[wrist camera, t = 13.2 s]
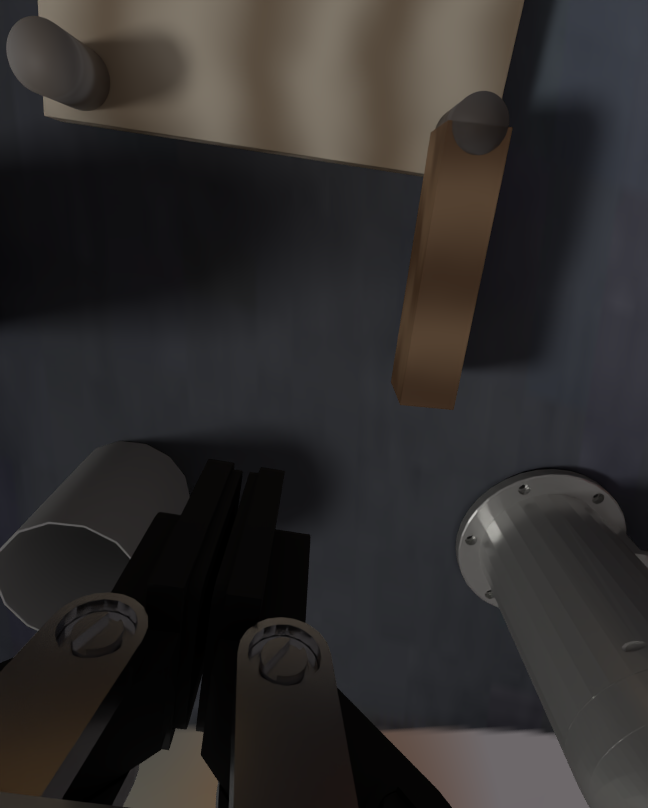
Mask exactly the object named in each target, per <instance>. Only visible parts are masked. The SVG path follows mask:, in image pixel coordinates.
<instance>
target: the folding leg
mask: <svg viewBox="0 0 648 808" xmlns="http://www.w3.org/2000/svg"><path fill="white" fill-rule="evenodd" d="M512 129H513V127H509V112H508V109H507V106H506V104H505V102H504V101H503V100H502V99H501V97H499V96H498V95H497V94H495V93H493V92H490V91H478V92H475V93H472V94H470V95H469V96H467V97H466V98H465V99H463V100H462V101H461V102H459V103H458V104H457V105H456V106H454V107H453V108H452V109H450V110H449V111H448V112H447V113H445V114H444V115H443V116H442V117H441V119H440V120H439V122H438V123H437V125H436V128H435V130H433V131H432V132H431V133H430V140H429V146H428V152H427V159H426V165H425V171H424V177H423V184H422V190H421V196H420V203H419V209H418V215H417V222H416V228H415V234H414V240H413V247H412V253H411V259H410V266H409V272H408V278H407V285H406V291H405V297H404V303H403V310H402V316H401V322H400V329H399V335H398V341H397V348H396V354H395V360H394V366H393V373H392V379H391V383H392V385H393V388H394V390H395V393H396V395H397V398H398V400H399V403H400V405H407V406H418V407H428V408H439V409H449V410H454V405H455V400H456V395H457V391H458V386H459V381H460V376H461V371H462V367H463V362H464V357H465V352H466V348H467V343H468V338H469V333H470V329H471V324H472V319H473V314H474V310H475V305H476V300H477V295H478V291H479V286H480V281H481V276H482V272H483V267H484V262H485V257H486V253H487V248H488V243H489V238H490V234H491V229H492V224H493V219H494V214H495V210H496V205H497V200H498V195H499V191H500V186H501V181H502V176H503V172H504V167H505V162H506V157H507V153H508V148H509V143H510V138H511V134H512Z"/></svg>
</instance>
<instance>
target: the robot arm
mask: <svg viewBox="0 0 648 808" xmlns="http://www.w3.org/2000/svg"><path fill="white" fill-rule="evenodd" d="M284 473H285V471H282V470H275V469H269V468H263V467H261V468H260V471H259V473H253V472H250V473H249V476H248V479H247V483H246V486H245V489H244V492H243V496H242V499H241V502H240V505H239V497H240V489H241V482H242V471H240V470H234V463H231V462H225V461H219V460H212V459H209V460H208V461H207V464H206V466H205V468H204V470H203V472H202V474H201V476H200V478H199V480H198V482H197V484H196V486H195V488H194V490H193V492H192V494H191V496H190V498H189V500H188V502H187V504H186V506H185V508H184V510H183V512H182V514H181V515H178V514H171V513H165V512H159V513H157V515H156V516H155V517H154V519H153V521H152V522H151V524H150V526H149V528H148V529H147V531H146V533H145V534H144V536H143V538H142V540H141V541H140V543H139V545H138V546H137V548H136V550H135V552H134V553H133V555H132V557H131V559H130V560H129V562H128V564H127V565H126V567H125V569H124V571H123V572H122V574H121V576H120V577H119V579H118V581H117V583H116V584H115V586H114V588H113V589H112V591H111V593H110V592H108V593H95V594H91V595H87V596H84V597H80V598H78V599H76V600H74V601H72V602H70V603H68V604H66V605H64V606H63V607H62V608H61V609H59V610H58V611H57V612H56V613H55V614H53V616H52V617H51V618H50V619H49V620H48V621H47V622H46V623H45V624H44V625H43V626H42V627H41V628H40V630H39V631H38V632H37V633H36V634H35V635H34V636H33V637H32V638H31V639H30V640H29V641H28V643H27V644H26V645H25V646H24V647H23V648H22V649H21V650H20V651H19V652H18V653H17V654H16V655H15V657H14V658H11V659H9V660H6V661H4V662H2V663H0V808H128V807H123V805H124V802H125V801H126V798H127V797H128V795H129V792H130V791H131V788H132V786H133V784H134V782H135V779H136V776H137V773H138V770H139V764H140V763H142V762H143V761H145V760H146V759H148V758H149V757H151V756H152V755H154V754H155V753H157V752H158V751H160V750H161V749H165V750H169V748H170V745H171V742H172V738H173V735H174V732H175V728H178V729H187V727H188V724H189V720H190V717H191V713H192V709H193V706H194V702H195V699H196V695H197V691H198V688H199V684H200V681H201V677H202V683H201V691H200V700H199V708H198V717H197V725H196V731H201V732H204V734H203V742H202V749H201V756H202V757H203V759H204V760H205V762H206V763H207V765H208V766H209V768H210V769H211V771H212V772H213V774H214V775H215V777H216V778H217V780H218V787H217V794H216V808H452V807H451V806H450V804H449V803H448V802H447V801H446V799H445V798H444V797H443V796H442V794H441V793H440V792H439V791H438V790H437V789H436V788H435V786H434V785H432V784H431V782H430V781H428V779H427V778H426V777H425V776H424V775H423V774H422V773H421V772H420V771H419V770H418V769H417V768H416V767H415V766H414V765H413V764H412V763H411V762H410V761H409V760H408V759H407V758H406V757H405V756H404V755H403V754H402V753H401V752H400V751H399V750H398V749H397V748H396V747H395V746H394V745H393V744H392V743H391V742H390V741H389V740H388V739H387V738H386V737H385V736H384V735H383V734H382V733H381V732H380V731H379V730H378V729H377V728H376V727H375V726H374V725H373V724H372V723H371V722H370V721H369V719H368V718H367V717H366V716H365V715H364V714H363V713H362V712H361V711H360V710H359V709H358V708H357V707H356V706H355V705H354V704H353V703H352V702H351V701H350V700H349V699H348V698H347V697H346V696H345V695H344V694H343V693H342V692H341V691H340V690H339V689H338V688H337V685H336V680H335V674H334V668H333V663H332V657H331V653H330V650H329V647H328V645H327V642H326V641H325V639H324V638H323V637H322V636H321V634H320V633H319V632H318V631H317V630H315V629H314V628H312V627H311V626H310V625H308V624H306V623H305V620H306V603H307V586H308V569H309V552H310V535H309V534H302V533H296V532H289V531H283V530H276V529H275V528H276V522H277V516H278V509H279V503H280V497H281V491H282V485H283V479H284ZM238 505H239V508H238ZM626 529H627V527H626V523H625V518H624V514H623V512H622V510H621V508H620V507H619V505H618V503H617V502H616V500H615V499H614V498H613V497H612V496H611V495H610V494H609V493H608V492H607V491H606V490H605V489H604V488H603V487H602V486H601V485H600V484H598V483H597V482H595V481H594V480H592V479H590V478H588V477H587V476H585V475H582V474H578V473H575V472H572V471H567V470H559V469H543V470H534V471H530V472H525V473H521V474H518V475H516V476H513V477H510V478H508V479H505V480H504V481H502V482H500V483H498V484H497V485H495V486H493V487H492V488H490V489H489V490H488V491H487V492H485V493H484V494H483V495H482V496H480V497H479V498H478V499H477V501H476V502H475V503H474V504H473V505H472V506H471V508H470V509H469V510H468V512H467V513H466V515H465V517H464V519H463V520H462V522H461V525H460V528H459V531H458V534H457V539H456V556H457V562H458V564H459V567H460V570H461V573H462V575H463V577H464V579H465V581H466V583H467V585H468V586H469V587H470V588H471V589H472V590H473V592H474V593H475V594H476V595H478V596H479V597H480V598H481V599H483V600H484V601H486V602H488V603H490V604H492V605H494V606H496V607H498V608H500V611H501V613H502V615H503V617H504V620H505V622H506V624H507V626H508V629H509V631H510V633H511V635H512V638H513V640H514V642H515V644H516V647H517V649H518V651H519V653H520V656H521V658H522V660H523V662H524V665H525V667H526V669H527V671H528V674H529V676H530V678H531V680H532V683H533V685H534V687H535V689H536V692H537V694H538V696H539V698H540V701H541V703H542V705H543V707H544V710H545V712H546V714H547V716H548V719H549V721H550V723H551V725H552V728H553V730H554V732H555V734H556V737H557V739H558V741H559V743H560V746H561V748H562V750H563V752H564V755H565V757H566V759H567V761H568V764H569V766H570V768H571V771H572V773H573V775H574V777H575V779H576V782H577V784H578V786H579V788H580V790H581V792H582V794H583V796H584V798H585V800H586V802H587V804H588V805H589V807H590V808H648V550H640V549H639V548H638V547H637V546H636V545H635V544H634V542H633V541H632V540H631V539H630V538H629V537H628V536H627V535H626ZM202 673H203V674H202Z"/></svg>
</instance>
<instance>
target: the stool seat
mask: <svg viewBox="0 0 648 808" xmlns="http://www.w3.org/2000/svg"><path fill="white" fill-rule="evenodd" d="M523 4H524V0H38V11H39V16H29V17H25V18H23V19H21V20H19V21H18V22H17V23H16V24H15V25H14V26H13V27H12V29H11V31H10V33H9V35H8V39H7V57H8V61H9V64H10V67H11V69H12V71H13V73H14V74H15V76H16V77H17V79H18V80H19V81H20V82H21V83H22V84H23V85H24V86H25V87H26V88H28V89H29V90H31V91H33V92H35V93H37V94H40V95H42V96H43V102H44V116H47V117H50V118H53V119H56V120H59V121H61V122H67V123H74V124H80V125H87V126H93V127H100V128H106V129H113V130H119V131H126V132H133V133H139V134H146V135H152V136H159V137H165V138H172V139H179V140H185V141H192V142H198V143H205V144H211V145H218V146H225V147H231V148H238V149H244V150H251V151H257V152H264V153H270V154H277V155H284V156H290V157H297V158H303V159H310V160H316V161H323V162H330V163H336V164H343V165H349V166H356V167H362V168H369V169H375V170H382V171H389V172H395V173H402V174H408V175H415V176H421V177H424V171H425V165H426V159H427V152H428V146H429V140H430V133H431V132H432V131H433V130H435V128H436V125H437V123H438V122H439V120H440V119H441V117H442V116H443V115H444V114H445V113H447V112H448V111H449V110H450V109H452V108H453V107H454V106H456V105H457V104H458V103H459V102H461V101H462V100H463V99H465V98H466V97H467V96H469V95H470V94H472V93H475V92H478V91H490V92H493V93H495V94H497V95H498V96H499V97H501V99H502V95H503V91H504V87H505V82H506V78H507V74H508V69H509V65H510V61H511V56H512V52H513V48H514V43H515V39H516V35H517V30H518V26H519V22H520V17H521V13H522V8H523Z"/></svg>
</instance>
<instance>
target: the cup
mask: <svg viewBox="0 0 648 808" xmlns="http://www.w3.org/2000/svg"><path fill="white" fill-rule="evenodd" d="M189 498H190V496H189V491H188V487H187V482H186V478H185V475H184V474H183V473H182V472H181V470H180V469H179V468H178V467H177V465H176V464H175V463H174V462H173V460H172V459H171V458H170V457H169V456H167V455H165V454H164V453H162V452H160V451H158V450H156V449H154V448H153V447H151V446H149V445H147V444H142V443H134V442H125V441H118V442H114V443H111V444H108V445H105V446H102V447H98V448H96V449H95V450H94V451H93V452H92V453H91V454H90V455H89V456H88V457H87V458H86V459H85V460H84V461H83V462H82V463H81V464H80V465H79V466H78V467H77V468H76V469H75V471H74V472H73V473H72V474H71V475H70V476H69V477H68V478H67V479H66V480H65V481H64V482H63V483H62V484H61V485H60V486H59V487H58V488H57V489H56V490H55V492H54V493H53V494H52V495H51V496H50V497H49V498H48V499H47V500H46V501H45V502H44V503H43V504H42V505H41V506H40V507H39V508H38V509H37V510H36V511H35V513H34V514H33V515H32V516H31V517H30V518H29V519H28V520H27V521H26V522H25V523H24V524H23V525H22V526H21V527H20V528H19V529H18V530H17V531H16V533H15V534H14V535H13V536H12V537H11V538H10V539H9V540H8V541H7V542H6V543H5V544H4V545H3V546H2V547H1V548H0V595H1V598H2V600H3V603H4V604H5V605H6V606H7V607H8V608H9V609H10V610H11V611H12V612H13V613H14V614H15V615H16V616H17V617H18V618H19V619H20V620H21V621H23V622H24V623H25V624H26V625H27V626H29V627H31V628H33V629H35V630H38V631H39V630H40V628H41V627H42V626H43V625H44V624H45V623H46V622H47V621H48V620H49V619H50V618H51V617H52V616H53V614H55V613H56V612H57V611H58V610H59V609H61V608H62V607H63V606H64V605H66V604H68V603H70V602H72V601H74V600H76V599H78V598H80V597H84V596H87V595H91V594H95V593H108V592H110V593H111V591H112V589H113V588H114V586H115V584H116V583H117V581H118V579H119V577H120V576H121V574H122V572H123V571H124V569H125V567H126V565H127V564H128V562H129V560H130V559H131V557H132V555H133V553H134V552H135V550H136V548H137V546H138V545H139V543H140V541H141V540H142V538H143V536H144V534H145V533H146V531H147V529H148V528H149V526H150V524H151V522H152V521H153V519H154V517H155V516H156V515H157V513H159V512H165V513H171V514H178V515H181V514H182V512H183V510H184V508H185V506H186V504H187V502H188V500H189Z"/></svg>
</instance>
